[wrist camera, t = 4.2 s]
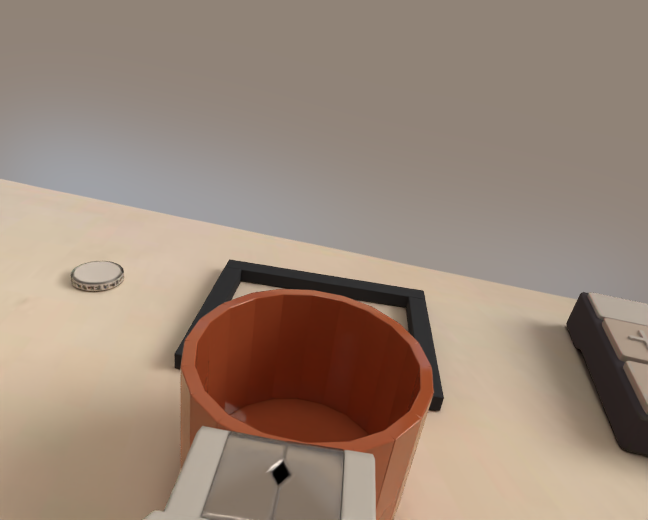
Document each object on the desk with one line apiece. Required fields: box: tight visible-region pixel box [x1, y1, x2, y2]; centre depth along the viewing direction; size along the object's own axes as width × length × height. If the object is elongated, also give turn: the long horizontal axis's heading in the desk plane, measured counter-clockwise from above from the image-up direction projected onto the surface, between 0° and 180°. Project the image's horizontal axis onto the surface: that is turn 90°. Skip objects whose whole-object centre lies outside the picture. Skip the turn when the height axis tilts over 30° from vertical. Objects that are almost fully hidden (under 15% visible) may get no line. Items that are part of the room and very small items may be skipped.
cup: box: [181, 289, 434, 520], centre depth 24 cm, size 11×11×8 cm
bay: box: [175, 260, 444, 411], centre depth 39 cm, size 14×18×1 cm
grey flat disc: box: [71, 261, 124, 291], centre depth 41 cm, size 4×4×1 cm
